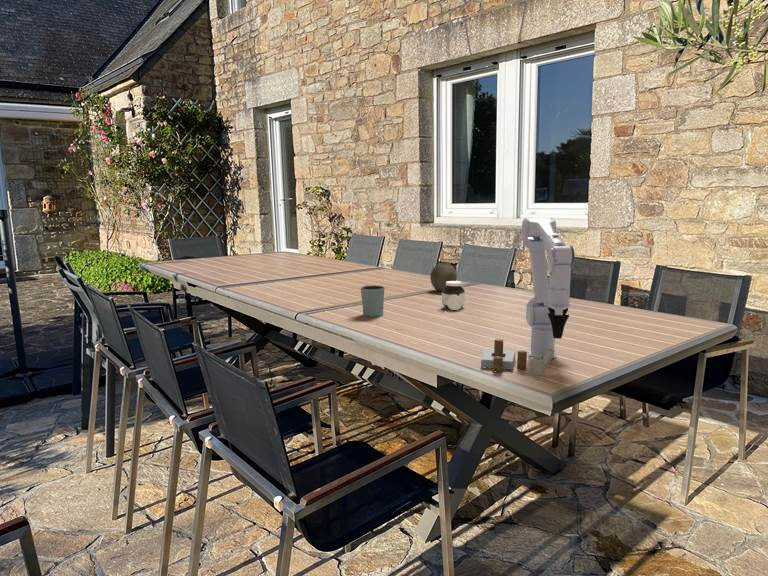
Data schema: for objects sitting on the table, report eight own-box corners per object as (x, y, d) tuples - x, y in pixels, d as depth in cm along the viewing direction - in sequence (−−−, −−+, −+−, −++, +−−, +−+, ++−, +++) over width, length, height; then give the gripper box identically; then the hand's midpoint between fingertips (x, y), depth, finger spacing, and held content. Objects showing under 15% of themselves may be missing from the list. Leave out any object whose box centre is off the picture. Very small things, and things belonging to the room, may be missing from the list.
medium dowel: (517, 367, 166) (517, 350, 165) (526, 367, 165) (527, 351, 164) (516, 369, 163) (517, 352, 163) (526, 370, 163) (526, 353, 162)
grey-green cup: (388, 313, 243) (388, 286, 242) (378, 318, 234) (378, 289, 232) (367, 311, 248) (367, 284, 246) (356, 316, 239) (356, 288, 237)
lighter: (528, 372, 161) (529, 345, 159) (532, 371, 162) (533, 344, 161) (550, 378, 155) (551, 350, 154) (554, 377, 157) (555, 349, 155)
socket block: (485, 356, 177) (485, 348, 177) (515, 358, 175) (515, 350, 174) (480, 367, 166) (481, 359, 165) (512, 370, 163) (512, 361, 163)
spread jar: (456, 305, 262) (456, 280, 260) (472, 309, 253) (473, 283, 251) (435, 308, 256) (436, 282, 254) (452, 312, 246) (452, 285, 244)
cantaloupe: (427, 292, 296) (427, 264, 294) (433, 288, 309) (433, 261, 307) (454, 294, 292) (454, 265, 289) (459, 289, 305) (459, 262, 303)
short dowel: (493, 369, 164) (493, 356, 163) (502, 370, 163) (503, 356, 163) (492, 372, 162) (493, 358, 161) (501, 372, 161) (502, 359, 160)
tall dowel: (494, 361, 172) (495, 339, 171) (503, 362, 171) (503, 339, 170) (493, 363, 169) (493, 341, 168) (502, 364, 168) (502, 341, 167)
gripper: (544, 284, 169) (543, 328, 171) (544, 291, 155) (542, 340, 157) (569, 284, 167) (567, 329, 169) (571, 292, 153) (569, 341, 155)
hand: (557, 335), depth 163 cm, fingers open, 7 cm apart
